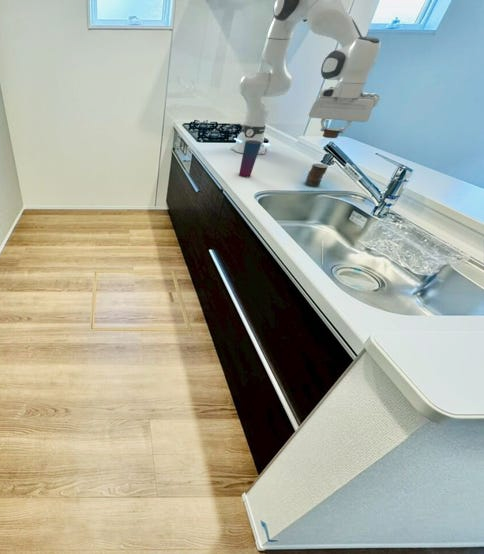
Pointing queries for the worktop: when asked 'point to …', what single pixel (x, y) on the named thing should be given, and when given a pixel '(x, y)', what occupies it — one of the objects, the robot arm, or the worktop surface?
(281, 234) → the worktop surface
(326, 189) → the worktop surface
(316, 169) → the dark brown cylindrical piece
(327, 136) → the brown short cylinder
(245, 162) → the cup
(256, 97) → the robot arm
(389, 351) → the worktop surface
